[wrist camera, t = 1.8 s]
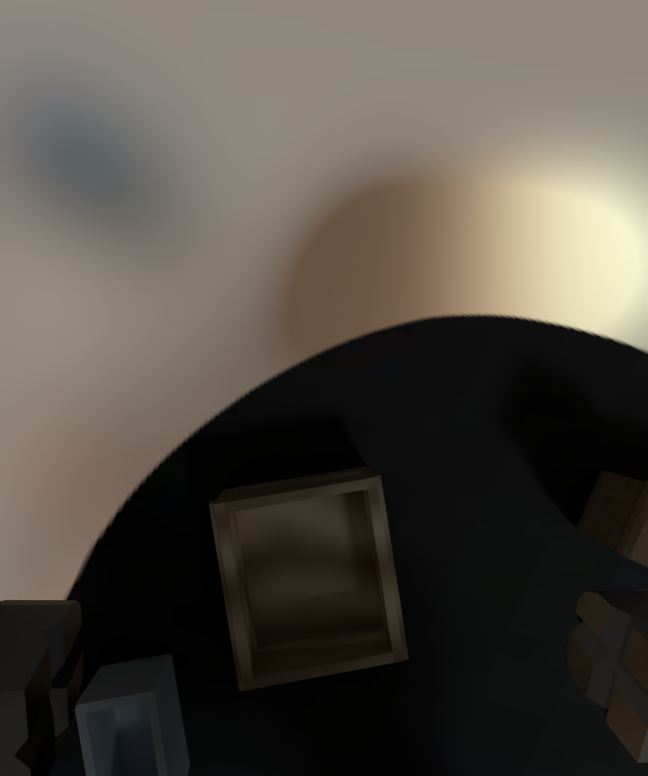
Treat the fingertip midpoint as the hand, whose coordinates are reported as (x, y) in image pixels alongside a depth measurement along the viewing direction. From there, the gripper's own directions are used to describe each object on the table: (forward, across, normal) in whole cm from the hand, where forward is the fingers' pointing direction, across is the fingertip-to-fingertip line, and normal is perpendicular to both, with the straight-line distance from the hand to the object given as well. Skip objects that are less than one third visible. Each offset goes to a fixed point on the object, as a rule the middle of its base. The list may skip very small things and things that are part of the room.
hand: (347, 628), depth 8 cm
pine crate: (+30, +4, -19) cm, 36 cm away
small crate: (+28, -9, -33) cm, 45 cm away
